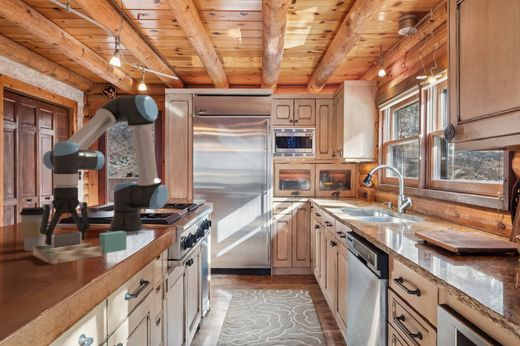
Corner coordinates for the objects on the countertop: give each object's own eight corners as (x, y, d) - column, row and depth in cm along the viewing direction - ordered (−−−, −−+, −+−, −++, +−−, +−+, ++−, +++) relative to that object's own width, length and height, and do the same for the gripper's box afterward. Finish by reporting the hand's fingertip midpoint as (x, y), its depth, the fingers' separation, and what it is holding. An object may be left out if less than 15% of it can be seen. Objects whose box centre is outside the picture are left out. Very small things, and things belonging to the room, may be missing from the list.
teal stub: (120, 248, 129) (121, 230, 129) (126, 249, 127) (126, 232, 127) (99, 251, 123) (99, 233, 123) (104, 253, 121) (104, 234, 121)
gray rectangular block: (75, 250, 125) (75, 232, 125) (80, 251, 122) (80, 233, 122) (50, 254, 119) (50, 235, 119) (55, 256, 116) (55, 236, 116)
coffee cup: (24, 247, 129) (24, 207, 129) (52, 245, 132) (53, 206, 132) (14, 252, 120) (15, 209, 120) (45, 251, 123) (46, 209, 123)
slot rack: (80, 248, 129) (80, 239, 129) (102, 255, 117) (102, 245, 117) (32, 255, 117) (33, 245, 117) (51, 264, 105) (51, 253, 106)
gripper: (91, 185, 131) (91, 245, 131) (27, 187, 115) (27, 255, 115) (100, 186, 126) (100, 248, 126) (35, 187, 110) (34, 259, 110)
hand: (65, 252), depth 120 cm, fingers closed on gray rectangular block, 8 cm apart
